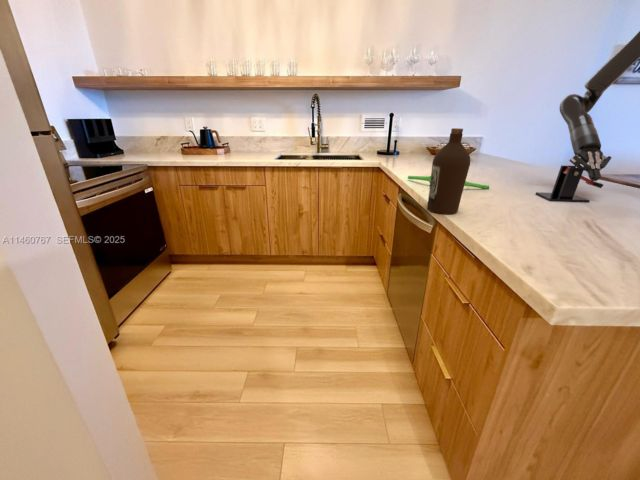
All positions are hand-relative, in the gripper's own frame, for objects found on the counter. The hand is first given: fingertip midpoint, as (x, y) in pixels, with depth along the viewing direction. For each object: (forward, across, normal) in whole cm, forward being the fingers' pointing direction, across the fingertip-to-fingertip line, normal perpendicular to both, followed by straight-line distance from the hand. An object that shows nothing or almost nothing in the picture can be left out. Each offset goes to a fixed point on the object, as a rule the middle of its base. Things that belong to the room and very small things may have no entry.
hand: (596, 179), depth 101 cm
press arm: (0, -5, 0) cm, 5 cm away
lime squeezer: (-4, -47, +16) cm, 50 cm away
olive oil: (+18, -56, -7) cm, 59 cm away
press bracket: (+5, -9, +5) cm, 12 cm away
